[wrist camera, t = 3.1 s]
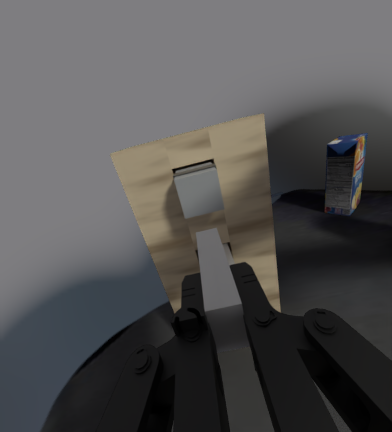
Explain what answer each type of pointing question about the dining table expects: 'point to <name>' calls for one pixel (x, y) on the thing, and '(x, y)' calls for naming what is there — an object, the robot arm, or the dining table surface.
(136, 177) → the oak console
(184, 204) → the top banded button
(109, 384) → the dining table surface
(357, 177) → the juice carton
